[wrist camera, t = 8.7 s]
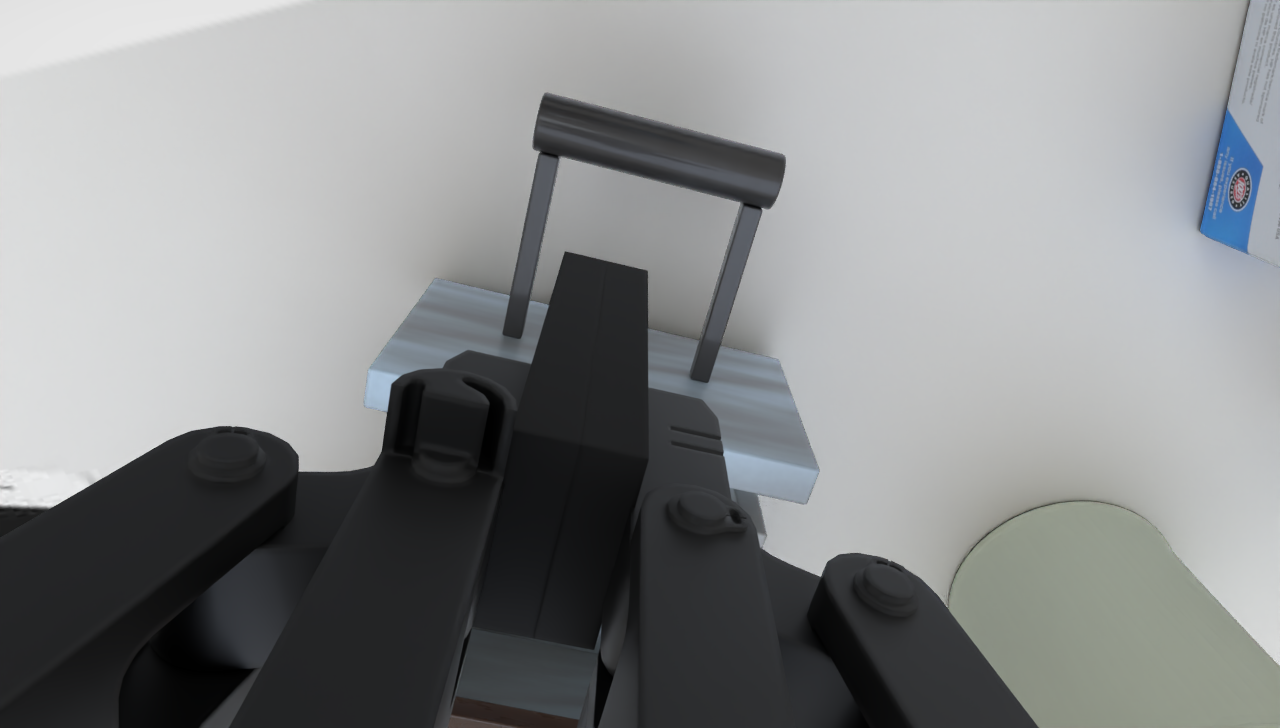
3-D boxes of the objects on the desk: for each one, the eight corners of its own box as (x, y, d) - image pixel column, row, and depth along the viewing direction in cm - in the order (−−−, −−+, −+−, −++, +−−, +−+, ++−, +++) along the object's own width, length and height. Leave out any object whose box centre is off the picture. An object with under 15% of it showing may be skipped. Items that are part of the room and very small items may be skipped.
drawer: (470, 58, 27) (407, 82, 19) (849, 157, 28) (920, 214, 21) (380, 606, 35) (313, 763, 28) (673, 664, 36) (681, 830, 29)
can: (1119, 692, 38) (1314, 980, 27) (918, 662, 37) (1034, 944, 26) (1211, 519, 34) (1480, 769, 23) (991, 483, 34) (1159, 722, 23)
